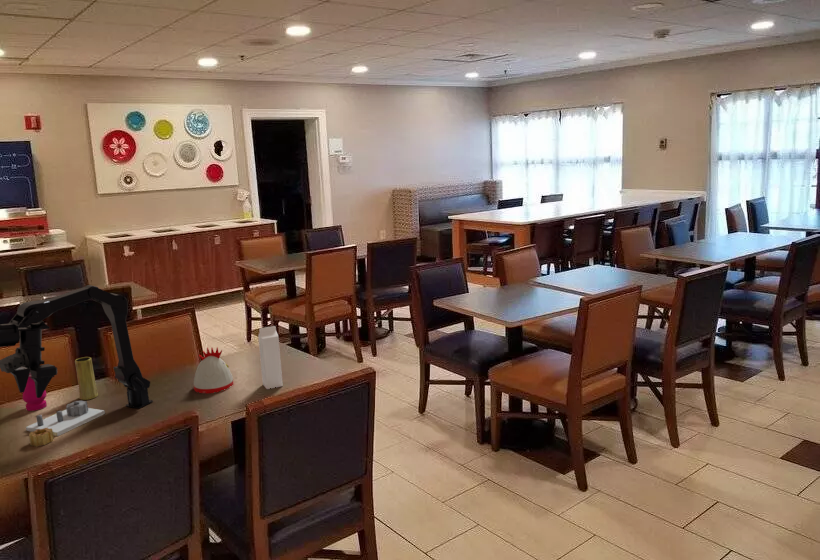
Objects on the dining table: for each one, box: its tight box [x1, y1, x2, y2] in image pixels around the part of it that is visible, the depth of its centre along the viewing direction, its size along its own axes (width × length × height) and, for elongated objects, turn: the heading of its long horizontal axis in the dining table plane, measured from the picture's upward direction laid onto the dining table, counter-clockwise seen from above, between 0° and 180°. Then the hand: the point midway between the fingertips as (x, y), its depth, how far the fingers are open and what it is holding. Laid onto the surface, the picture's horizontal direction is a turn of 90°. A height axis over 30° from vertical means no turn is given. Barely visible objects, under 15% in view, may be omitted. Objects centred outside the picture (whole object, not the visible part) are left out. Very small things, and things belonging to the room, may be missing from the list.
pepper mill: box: [22, 374, 48, 412], centre depth 221 cm, size 7×7×20 cm
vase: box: [74, 356, 99, 401], centre depth 230 cm, size 6×6×14 cm
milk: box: [257, 325, 284, 390], centre depth 232 cm, size 6×6×22 cm
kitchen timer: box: [193, 346, 234, 394], centre depth 235 cm, size 14×14×15 cm
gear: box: [28, 428, 55, 448], centre depth 195 cm, size 6×6×3 cm
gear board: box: [25, 400, 106, 437], centre depth 209 cm, size 14×18×5 cm
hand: (30, 395), depth 195 cm, fingers open, 9 cm apart
